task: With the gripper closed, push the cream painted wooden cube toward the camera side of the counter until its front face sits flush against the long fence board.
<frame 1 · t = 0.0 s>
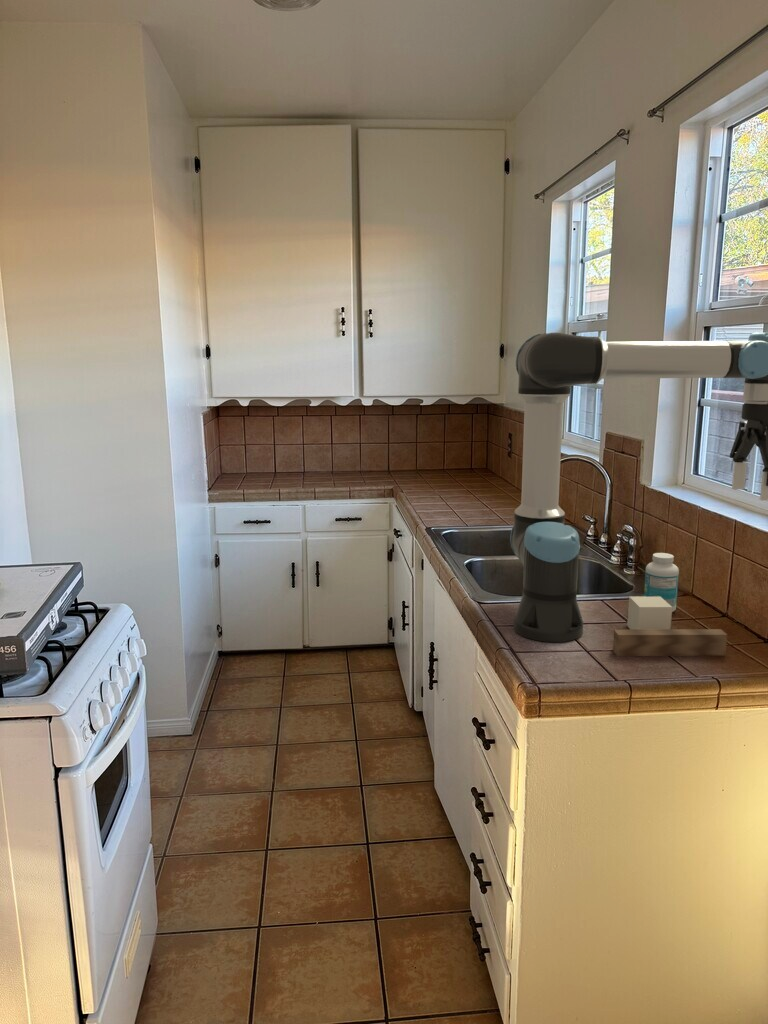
hand: (751, 494, 170), 28 cm above the worktop, fingers open, 13 cm apart
block: (648, 631, 162), on the worktop
board: (668, 652, 151), on the worktop
pill bottle: (659, 610, 176), on the worktop
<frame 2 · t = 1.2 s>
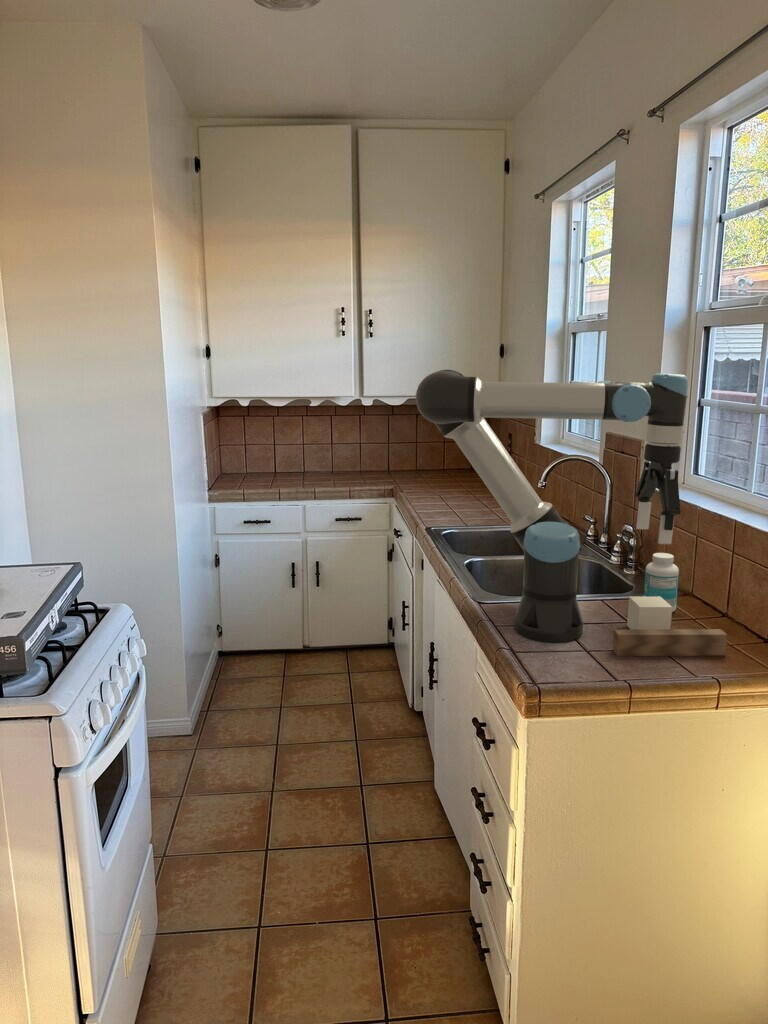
hand: (653, 536, 168), 19 cm above the worktop, fingers open, 13 cm apart
nothing on the worktop moved.
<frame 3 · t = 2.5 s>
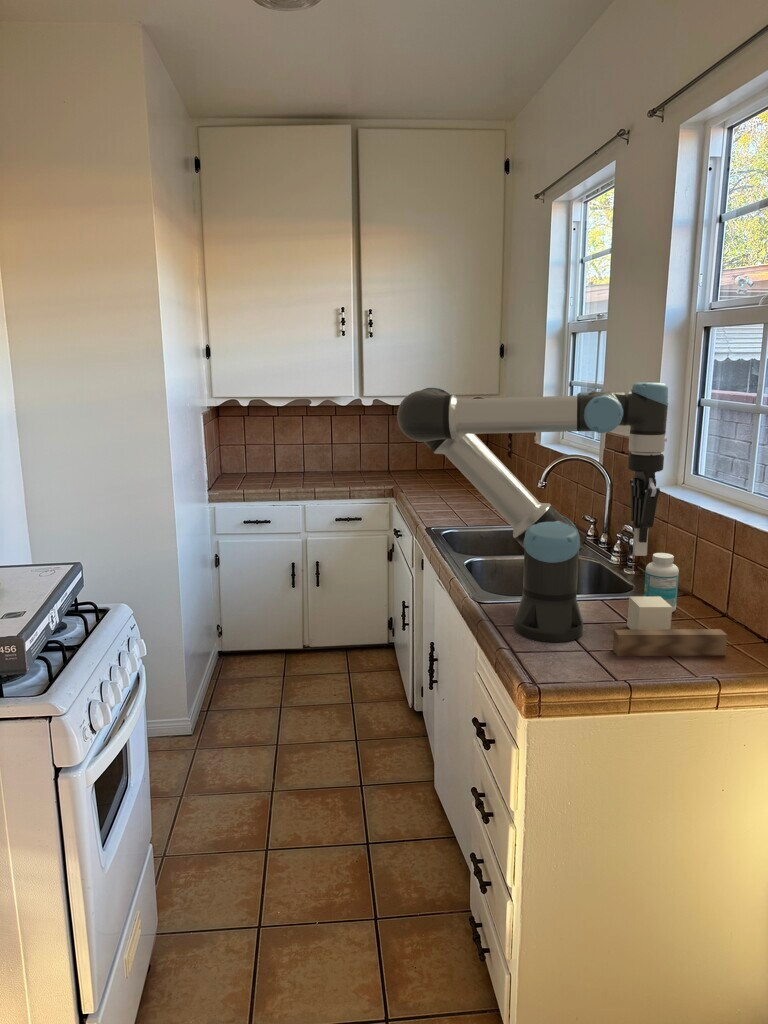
hand: (639, 554, 168), 15 cm above the worktop, fingers closed
nothing on the worktop moved.
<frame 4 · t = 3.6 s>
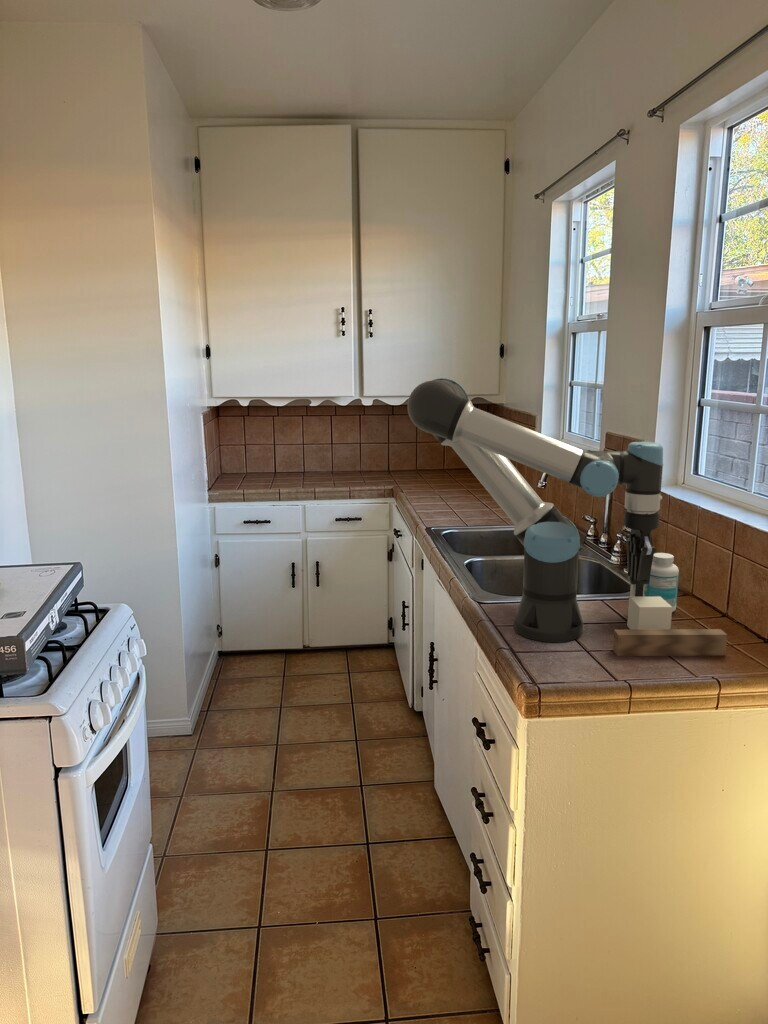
hand: (636, 609, 171), 2 cm above the worktop, fingers closed
nothing on the worktop moved.
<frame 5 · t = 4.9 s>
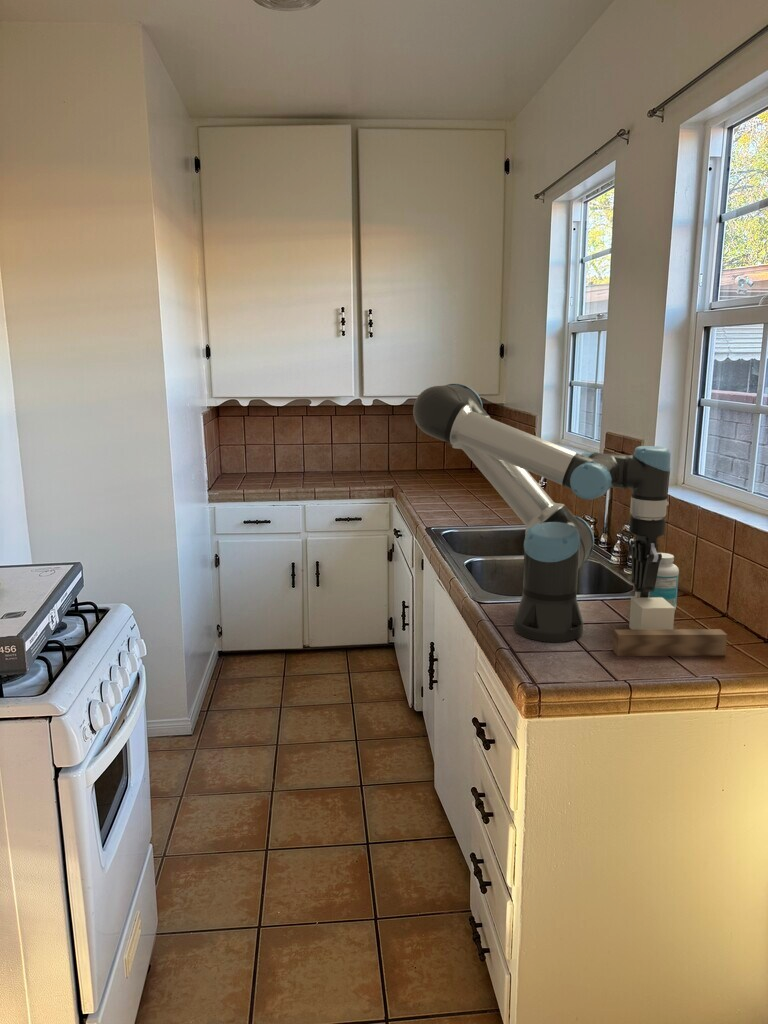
hand: (640, 617, 167), 1 cm above the worktop, fingers closed
block: (650, 632, 161), on the worktop, touching gripper
everything else where it was.
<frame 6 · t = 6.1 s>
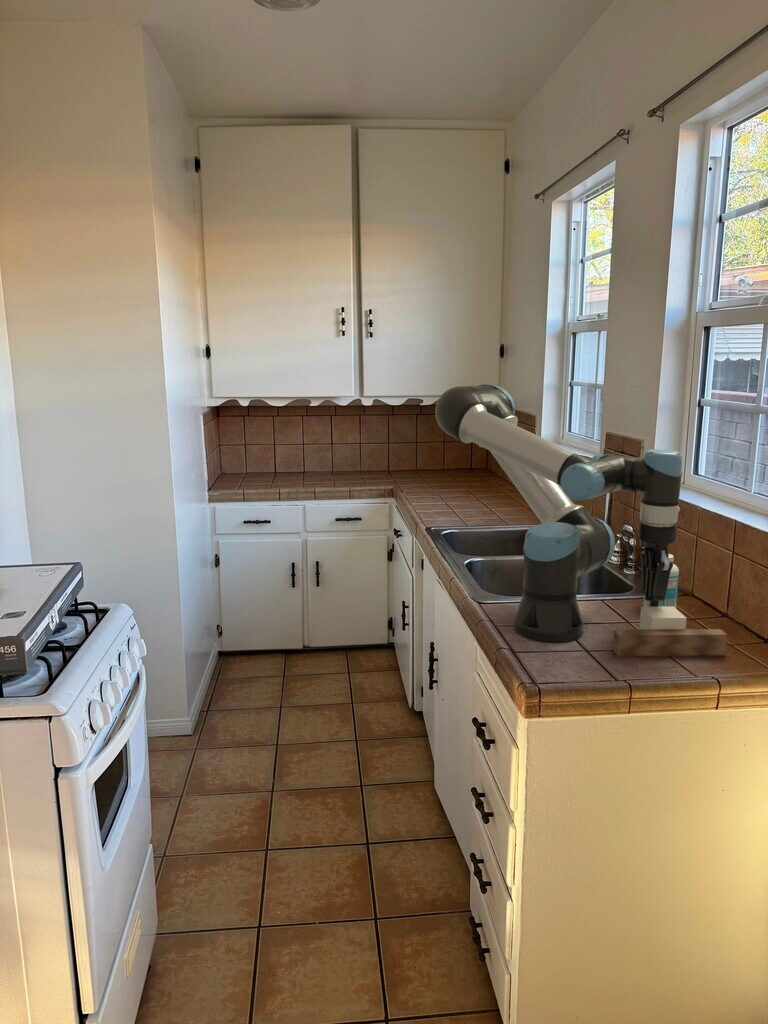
hand: (650, 626, 161), 1 cm above the worktop, fingers closed
block: (660, 643, 155), on the worktop, touching board, gripper
everything else where it was.
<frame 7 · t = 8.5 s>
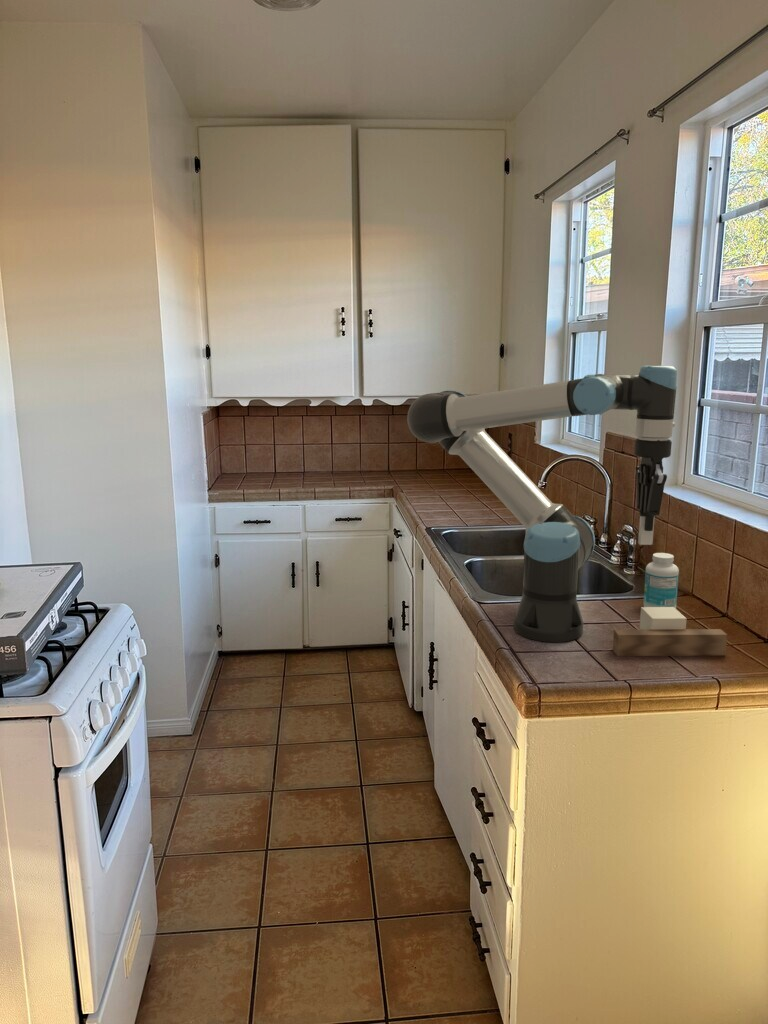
hand: (645, 543, 163), 19 cm above the worktop, fingers closed
block: (660, 643, 155), on the worktop
everything else where it was.
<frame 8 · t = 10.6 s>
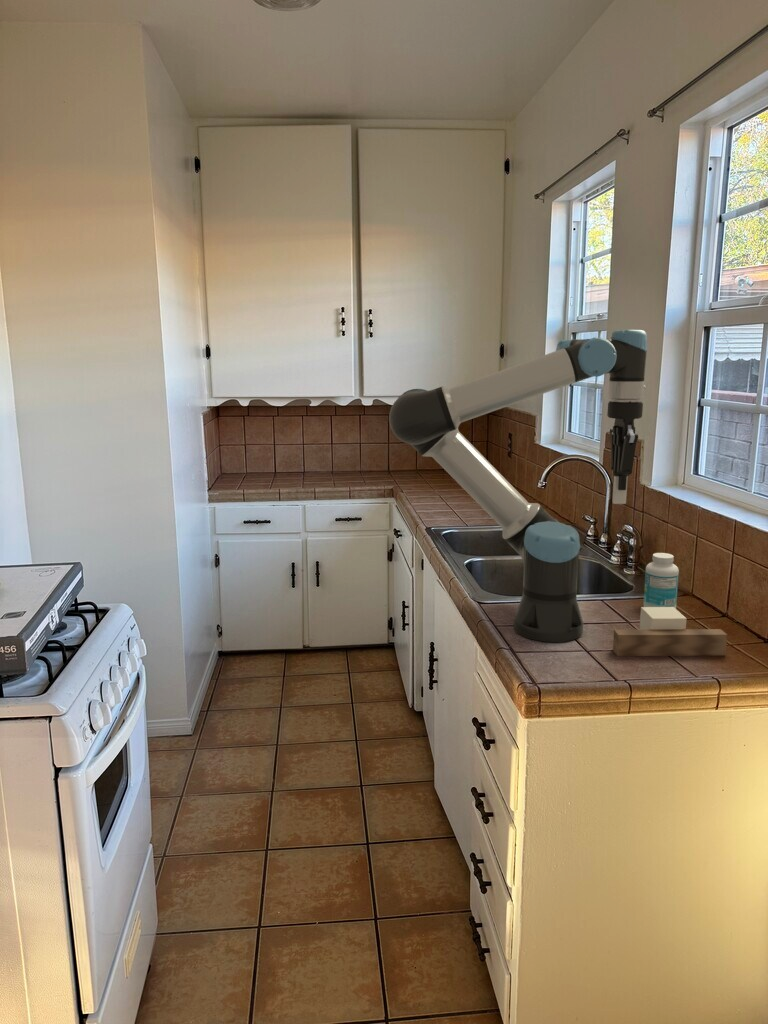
hand: (619, 503, 169), 26 cm above the worktop, fingers closed
nothing on the worktop moved.
at the end: block inside the target area on the worktop beside the board (0.4 cm from its centre), on the worktop; block tilted 0° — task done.
